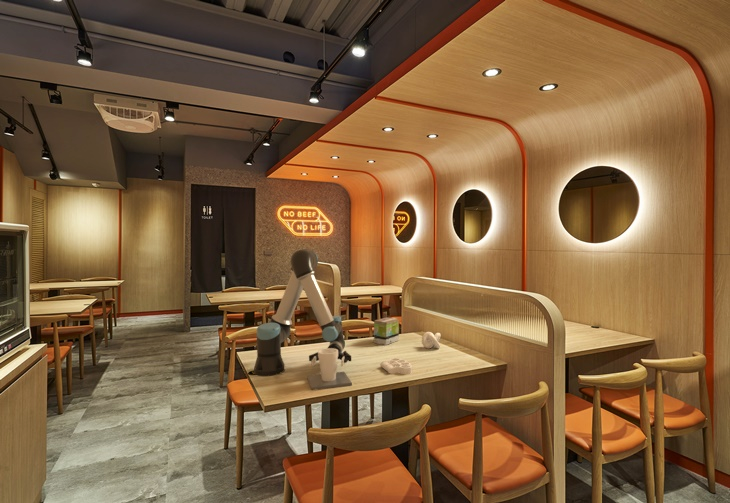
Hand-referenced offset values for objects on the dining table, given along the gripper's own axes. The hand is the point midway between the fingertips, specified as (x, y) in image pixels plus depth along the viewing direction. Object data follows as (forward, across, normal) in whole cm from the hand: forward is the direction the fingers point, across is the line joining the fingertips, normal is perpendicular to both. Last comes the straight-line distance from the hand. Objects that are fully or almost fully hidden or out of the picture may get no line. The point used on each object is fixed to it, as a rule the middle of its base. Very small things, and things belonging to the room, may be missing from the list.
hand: (327, 363), depth 174 cm
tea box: (-76, -26, -10) cm, 81 cm away
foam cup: (-3, 0, -8) cm, 9 cm away
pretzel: (-63, -53, -10) cm, 83 cm away
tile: (-3, 0, -10) cm, 10 cm away
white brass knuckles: (-22, -32, -10) cm, 40 cm away
